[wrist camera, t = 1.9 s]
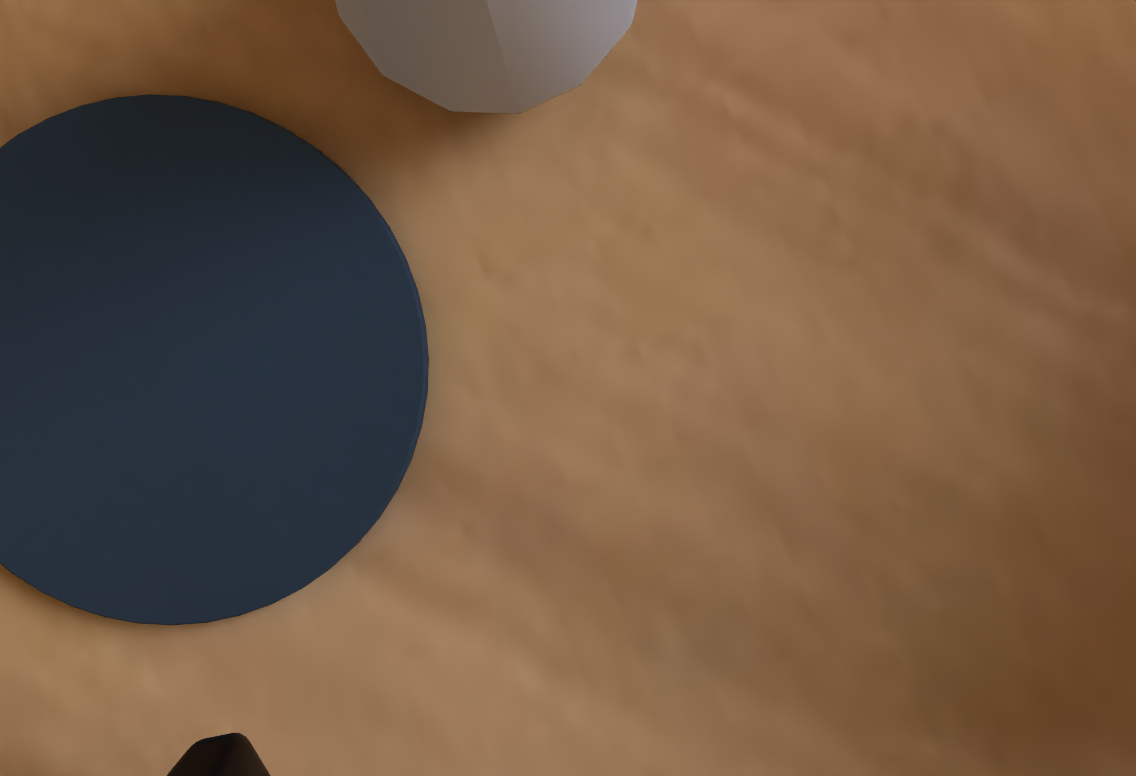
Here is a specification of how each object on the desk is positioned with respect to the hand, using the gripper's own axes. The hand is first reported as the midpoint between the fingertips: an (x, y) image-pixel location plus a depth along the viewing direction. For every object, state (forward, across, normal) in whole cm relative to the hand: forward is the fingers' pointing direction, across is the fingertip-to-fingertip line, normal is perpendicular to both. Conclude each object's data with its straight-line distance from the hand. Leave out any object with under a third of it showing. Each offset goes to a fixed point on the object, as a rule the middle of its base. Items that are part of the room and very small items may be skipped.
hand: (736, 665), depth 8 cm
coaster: (+12, +10, +1) cm, 15 cm away
